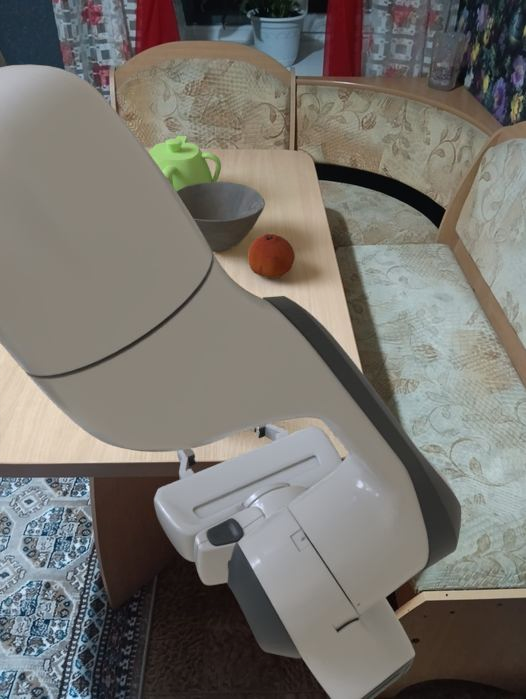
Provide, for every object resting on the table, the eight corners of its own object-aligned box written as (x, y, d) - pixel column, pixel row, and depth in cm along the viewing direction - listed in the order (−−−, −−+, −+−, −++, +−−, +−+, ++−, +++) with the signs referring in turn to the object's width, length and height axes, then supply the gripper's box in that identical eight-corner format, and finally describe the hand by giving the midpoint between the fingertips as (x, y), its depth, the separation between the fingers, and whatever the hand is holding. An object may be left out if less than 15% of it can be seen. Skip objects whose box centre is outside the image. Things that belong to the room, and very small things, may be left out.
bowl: (264, 268, 106) (265, 221, 100) (168, 267, 106) (163, 220, 99) (263, 224, 121) (264, 181, 114) (178, 223, 120) (174, 179, 114)
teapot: (233, 204, 129) (232, 142, 119) (162, 229, 118) (155, 163, 109) (186, 179, 139) (182, 121, 130) (118, 200, 129) (108, 139, 120)
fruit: (247, 285, 101) (247, 247, 96) (248, 261, 108) (248, 224, 103) (294, 287, 101) (297, 248, 96) (292, 262, 108) (295, 225, 103)
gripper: (371, 469, 55) (299, 386, 64) (183, 558, 47) (133, 449, 57) (362, 506, 59) (296, 423, 68) (188, 593, 51) (140, 486, 61)
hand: (221, 435), depth 62 cm, fingers open, 8 cm apart
